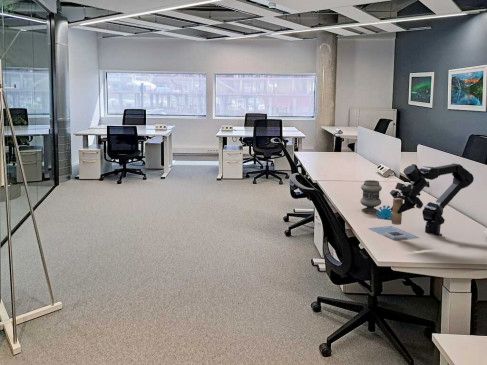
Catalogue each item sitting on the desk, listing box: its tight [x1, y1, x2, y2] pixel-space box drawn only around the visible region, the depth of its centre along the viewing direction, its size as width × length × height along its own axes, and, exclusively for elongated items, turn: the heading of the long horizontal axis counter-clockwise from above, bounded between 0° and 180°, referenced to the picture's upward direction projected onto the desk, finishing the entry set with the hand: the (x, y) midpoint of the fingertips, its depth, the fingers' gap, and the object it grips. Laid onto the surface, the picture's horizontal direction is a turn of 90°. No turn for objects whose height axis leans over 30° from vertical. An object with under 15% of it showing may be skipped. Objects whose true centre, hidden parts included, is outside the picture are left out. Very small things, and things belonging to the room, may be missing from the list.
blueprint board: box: [367, 225, 420, 242], centre depth 240 cm, size 15×22×1 cm
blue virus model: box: [376, 205, 392, 221], centre depth 269 cm, size 11×6×10 cm
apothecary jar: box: [359, 179, 382, 214], centre depth 287 cm, size 12×12×18 cm
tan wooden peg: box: [391, 197, 404, 226], centre depth 231 cm, size 4×4×12 cm
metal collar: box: [383, 231, 407, 241], centre depth 233 cm, size 8×8×2 cm
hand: (394, 211), depth 231 cm, fingers closed on tan wooden peg, 4 cm apart
